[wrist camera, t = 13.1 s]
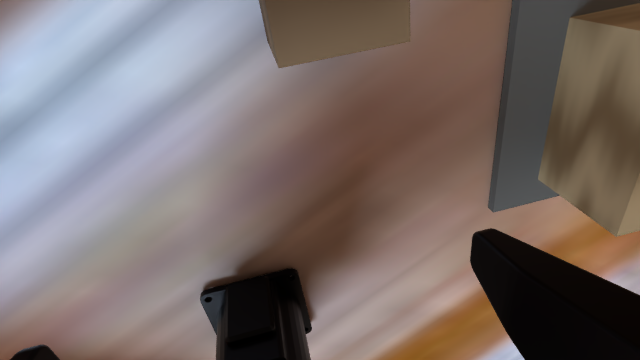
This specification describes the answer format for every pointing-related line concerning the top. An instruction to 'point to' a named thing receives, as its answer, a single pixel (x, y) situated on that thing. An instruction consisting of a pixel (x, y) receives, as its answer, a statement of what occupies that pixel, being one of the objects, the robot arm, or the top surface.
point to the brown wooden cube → (332, 27)
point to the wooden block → (598, 120)
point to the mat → (531, 95)
